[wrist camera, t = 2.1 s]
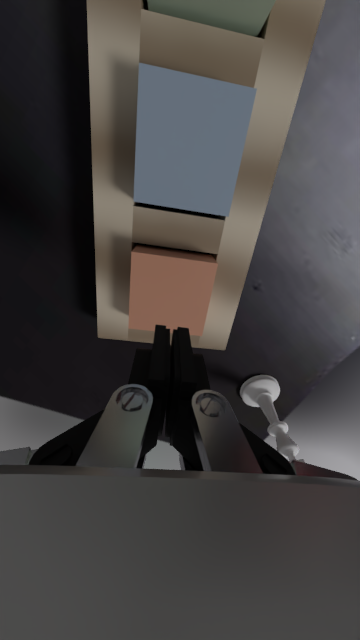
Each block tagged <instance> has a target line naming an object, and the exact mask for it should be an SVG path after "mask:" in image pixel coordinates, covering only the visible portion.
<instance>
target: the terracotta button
mask: <svg viewBox="0 0 360 640" xmlns="http://www.w3.org/2000/svg"><path fill="white" fill-rule="evenodd" d="M217 267H218V263H217V262H216V260H215V259H214V258H213V257H212V255H208V254H201V253H194V252H187V251H180V250H172V249H165V248H158V247H151V246H144V245H137V246H136V247H135V248H134V249H133V250H132V252H131V275H130V300H129V324H128V329H138V330H148V331H155V325H165V326H166V328H167V329H170V333H173V329H177V328H178V327H184V328H189V333H190V335H196V336H202V334H203V330H204V325H205V321H206V316H207V312H208V307H209V303H210V298H211V294H212V289H213V285H214V280H215V276H216V271H217Z"/></svg>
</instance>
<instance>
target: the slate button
mask: <svg viewBox="0 0 360 640" xmlns="http://www.w3.org/2000/svg"><path fill="white" fill-rule="evenodd" d="M256 91H257V89H256V88H251V87H247V86H242V85H238V84H233V83H229V82H224V81H220V80H215V79H211V78H206V77H202V76H197V75H193V74H188V73H184V72H179V71H175V70H170V69H166V68H161V67H157V66H152V65H148V64H143V63H139V76H138V101H137V126H136V151H135V175H134V200H133V201H134V202H140V203H146V204H152V205H159V206H165V207H171V208H177V209H183V210H190V211H196V212H202V213H208V214H215V215H221V216H227V217H229V212H230V208H231V203H232V199H233V194H234V190H235V185H236V181H237V176H238V172H239V167H240V163H241V158H242V154H243V149H244V145H245V140H246V136H247V131H248V127H249V122H250V118H251V113H252V109H253V104H254V100H255V95H256Z"/></svg>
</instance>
